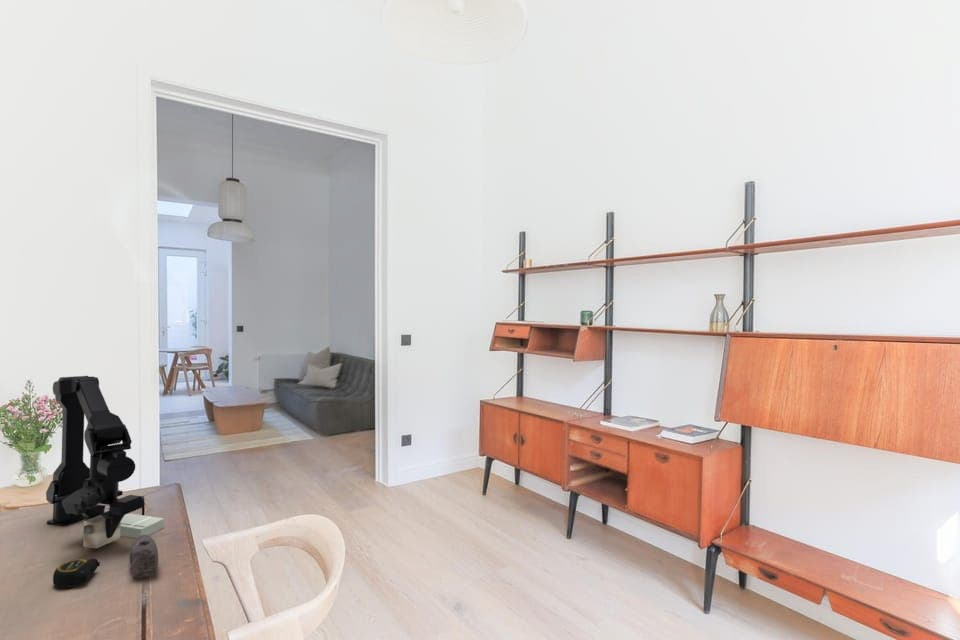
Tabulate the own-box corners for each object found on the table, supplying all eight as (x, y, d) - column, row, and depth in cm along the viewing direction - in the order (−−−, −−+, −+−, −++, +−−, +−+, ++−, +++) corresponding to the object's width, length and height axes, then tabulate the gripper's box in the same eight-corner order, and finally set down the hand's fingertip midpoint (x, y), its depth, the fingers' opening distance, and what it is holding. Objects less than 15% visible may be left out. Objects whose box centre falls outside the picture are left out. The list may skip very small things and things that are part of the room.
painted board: (90, 531, 127) (90, 521, 127) (115, 520, 134) (115, 511, 134) (140, 538, 124) (141, 528, 124) (164, 527, 130) (164, 518, 130)
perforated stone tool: (128, 557, 114) (129, 528, 114) (155, 552, 117) (156, 523, 117) (128, 587, 102) (129, 554, 102) (158, 580, 105) (159, 548, 105)
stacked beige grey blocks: (78, 548, 115) (79, 523, 115) (110, 534, 123) (111, 510, 123) (92, 550, 114) (93, 524, 114) (123, 535, 122) (124, 512, 122)
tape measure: (85, 589, 101) (86, 571, 101) (45, 593, 99) (46, 575, 99) (99, 572, 108) (100, 555, 108) (62, 576, 106) (63, 559, 106)
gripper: (38, 479, 113) (36, 546, 113) (103, 487, 109) (101, 556, 109) (86, 465, 124) (84, 526, 124) (147, 472, 120) (144, 535, 120)
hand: (102, 536), depth 119 cm, fingers closed on stacked beige grey blocks, 4 cm apart
